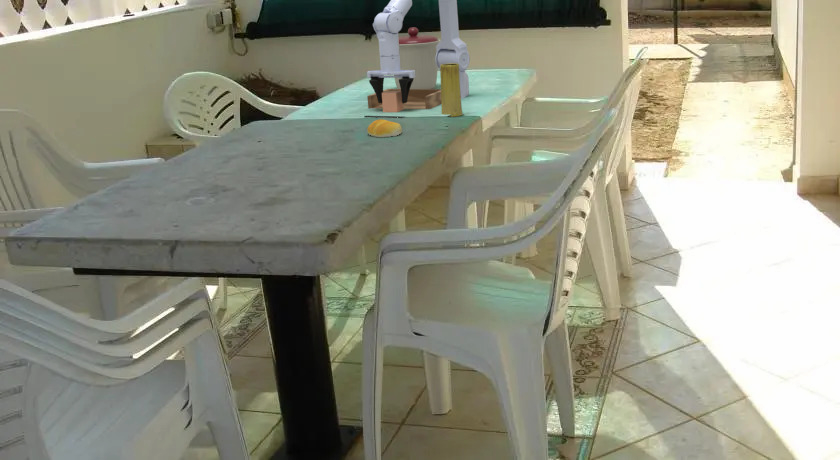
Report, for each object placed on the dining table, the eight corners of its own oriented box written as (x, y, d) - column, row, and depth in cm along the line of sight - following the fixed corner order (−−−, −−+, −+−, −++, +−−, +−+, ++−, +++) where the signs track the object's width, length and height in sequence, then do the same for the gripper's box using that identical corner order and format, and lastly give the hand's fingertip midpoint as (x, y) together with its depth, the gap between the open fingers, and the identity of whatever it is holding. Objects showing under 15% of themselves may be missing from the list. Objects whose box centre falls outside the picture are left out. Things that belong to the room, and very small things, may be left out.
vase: (463, 113, 252) (461, 62, 248) (462, 116, 246) (459, 65, 242) (441, 114, 253) (439, 63, 248) (440, 117, 247) (437, 66, 243)
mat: (379, 111, 263) (379, 110, 263) (416, 111, 258) (416, 110, 258) (364, 117, 255) (364, 116, 255) (401, 118, 250) (401, 117, 250)
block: (389, 110, 261) (388, 90, 259) (403, 111, 259) (402, 90, 258) (383, 113, 257) (381, 93, 255) (397, 113, 255) (395, 93, 254)
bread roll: (384, 139, 222) (383, 124, 221) (362, 136, 229) (361, 120, 228) (409, 134, 227) (408, 118, 226) (387, 130, 234) (386, 115, 233)
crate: (388, 103, 278) (387, 88, 276) (447, 103, 269) (447, 89, 268) (368, 110, 265) (367, 95, 264) (429, 111, 257) (428, 96, 256)
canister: (381, 90, 305) (377, 28, 299) (429, 85, 312) (425, 24, 306) (403, 96, 289) (399, 30, 283) (452, 90, 297) (449, 26, 290)
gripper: (360, 57, 253) (364, 104, 257) (406, 56, 247) (409, 105, 251) (371, 54, 259) (375, 100, 263) (417, 53, 253) (419, 101, 257)
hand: (392, 102), depth 257 cm, fingers open, 7 cm apart
